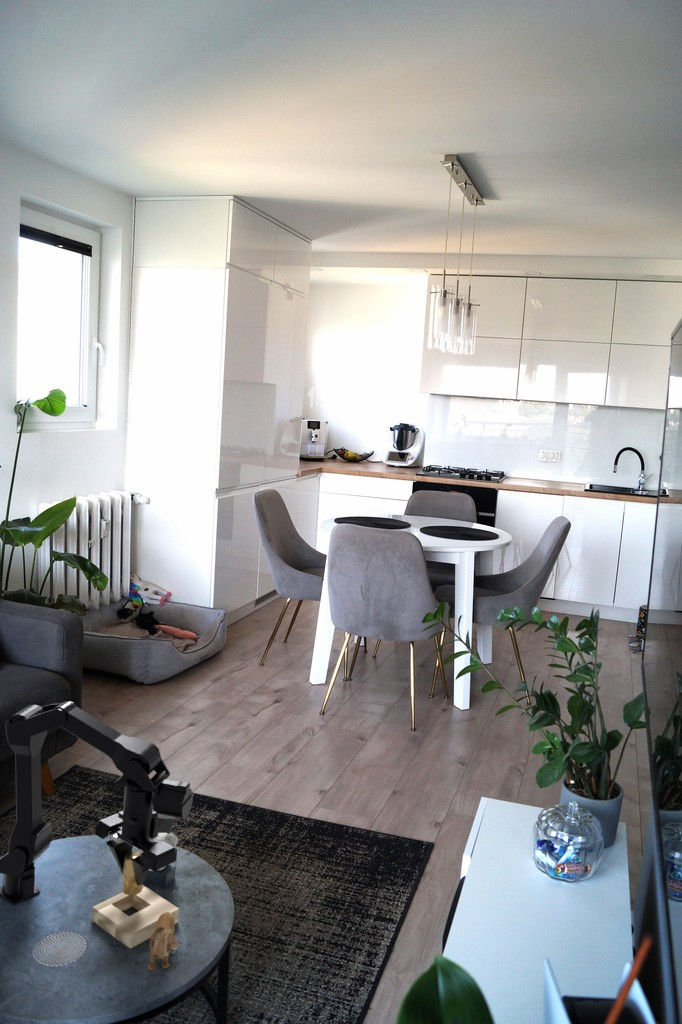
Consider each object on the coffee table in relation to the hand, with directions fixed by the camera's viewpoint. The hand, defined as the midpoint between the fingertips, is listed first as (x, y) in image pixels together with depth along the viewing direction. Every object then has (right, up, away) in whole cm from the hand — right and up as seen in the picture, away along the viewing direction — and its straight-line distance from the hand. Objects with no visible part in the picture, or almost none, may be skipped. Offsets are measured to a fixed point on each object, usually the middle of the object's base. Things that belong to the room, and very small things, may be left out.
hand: (132, 880), depth 173 cm
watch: (+2, -7, +15) cm, 17 cm away
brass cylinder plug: (0, -2, 0) cm, 2 cm away
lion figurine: (+8, -11, -9) cm, 17 cm away
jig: (0, -8, 0) cm, 8 cm away
